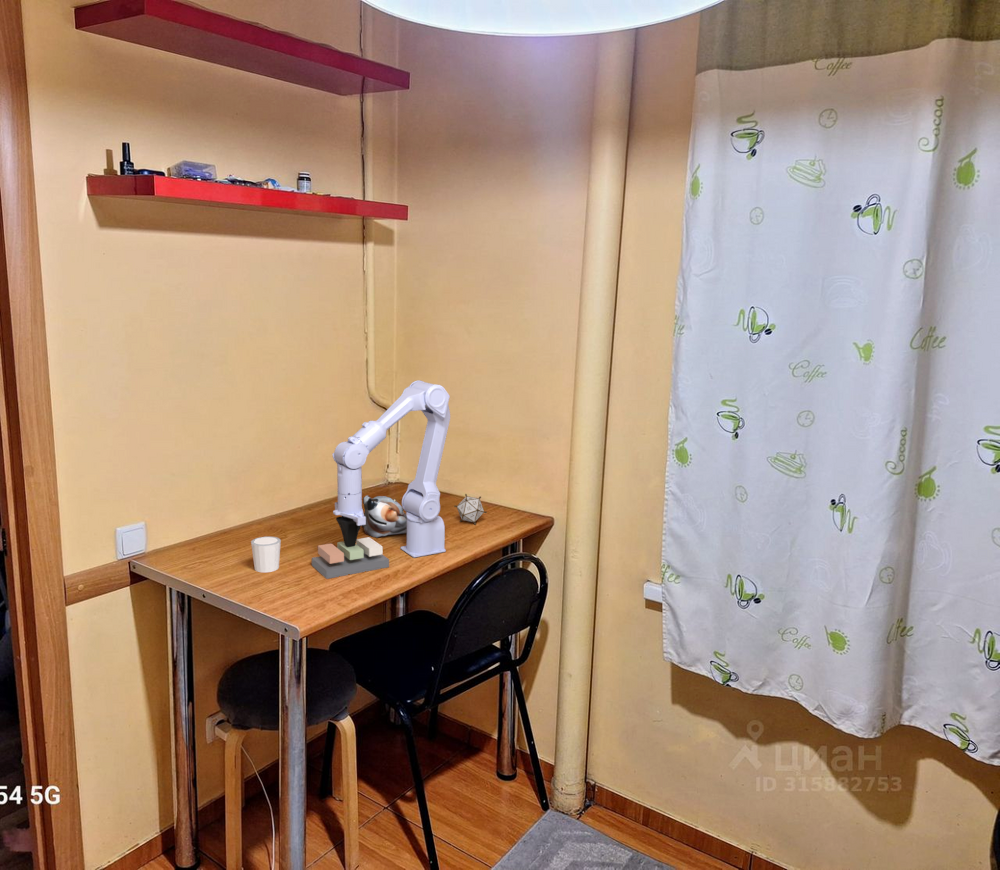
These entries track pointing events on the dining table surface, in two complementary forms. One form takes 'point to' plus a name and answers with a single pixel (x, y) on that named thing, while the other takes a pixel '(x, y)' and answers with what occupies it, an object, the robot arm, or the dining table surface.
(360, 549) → the sage button
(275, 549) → the shot glass
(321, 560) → the button panel
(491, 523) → the dining table surface
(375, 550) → the off-white button
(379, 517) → the lucky cat figurine
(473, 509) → the game die
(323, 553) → the terracotta button
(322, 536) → the dining table surface
